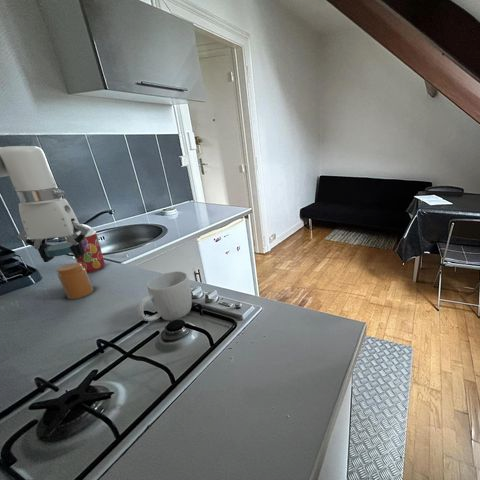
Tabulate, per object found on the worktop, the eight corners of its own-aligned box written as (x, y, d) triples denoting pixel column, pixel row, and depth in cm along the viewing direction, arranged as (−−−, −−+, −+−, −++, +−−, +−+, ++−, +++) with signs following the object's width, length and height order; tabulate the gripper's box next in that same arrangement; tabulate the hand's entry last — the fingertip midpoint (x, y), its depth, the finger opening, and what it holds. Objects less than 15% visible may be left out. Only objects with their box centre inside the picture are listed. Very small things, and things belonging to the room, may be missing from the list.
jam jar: (63, 298, 77) (50, 270, 73) (85, 288, 82) (74, 261, 79) (76, 301, 75) (64, 272, 72) (98, 290, 80) (88, 263, 77)
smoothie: (106, 262, 100) (88, 212, 93) (110, 269, 95) (91, 216, 88) (78, 270, 95) (57, 217, 88) (80, 277, 89) (57, 221, 82)
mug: (182, 300, 74) (173, 268, 70) (202, 308, 70) (195, 275, 66) (134, 326, 64) (121, 291, 60) (155, 338, 59) (143, 301, 56)
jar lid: (46, 259, 69) (43, 252, 69) (46, 252, 74) (43, 246, 73) (79, 251, 74) (76, 245, 73) (77, 245, 78) (74, 240, 77)
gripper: (86, 191, 74) (106, 249, 80) (9, 196, 69) (36, 257, 75) (71, 196, 67) (94, 259, 73) (-16, 201, 62) (16, 268, 69)
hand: (64, 257), depth 74 cm, fingers closed on jar lid, 6 cm apart
